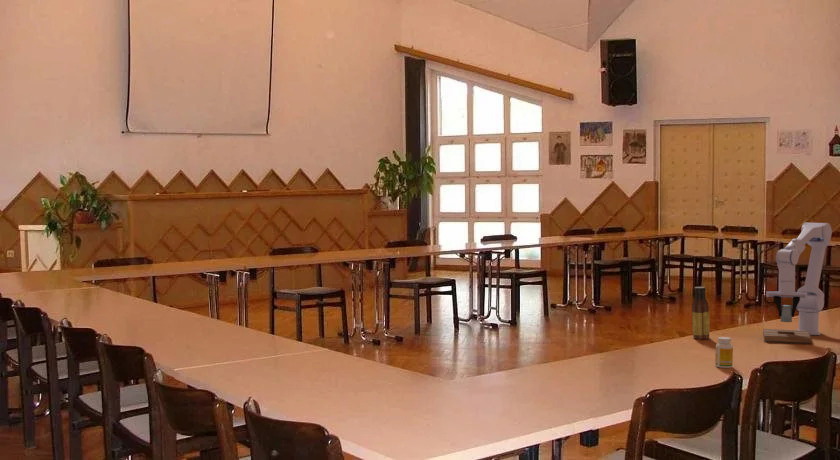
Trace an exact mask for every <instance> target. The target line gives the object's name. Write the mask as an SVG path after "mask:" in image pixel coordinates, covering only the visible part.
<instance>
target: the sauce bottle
mask: <svg viewBox="0 0 840 460" xmlns="http://www.w3.org/2000/svg"><path fill="white" fill-rule="evenodd" d="M709 306H710V305H709V302H708V301H707V299H706V286H694V300H693V302H692V307H691V314H692V317H691V318H692V319H691V320H692V321H691V322H692V336H693V338H694V339H695V340H707V339H710V311H709V309H710V308H709Z"/></svg>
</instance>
